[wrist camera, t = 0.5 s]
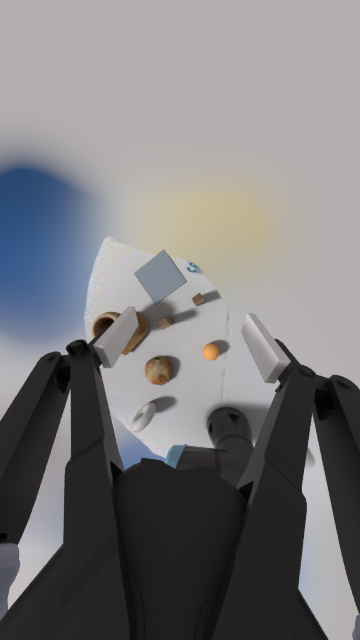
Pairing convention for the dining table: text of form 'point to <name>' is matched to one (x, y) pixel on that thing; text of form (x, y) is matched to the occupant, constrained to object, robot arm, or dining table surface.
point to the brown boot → (111, 317)
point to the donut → (143, 417)
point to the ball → (211, 352)
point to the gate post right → (198, 299)
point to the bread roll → (158, 370)
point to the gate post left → (166, 322)
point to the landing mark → (160, 277)
